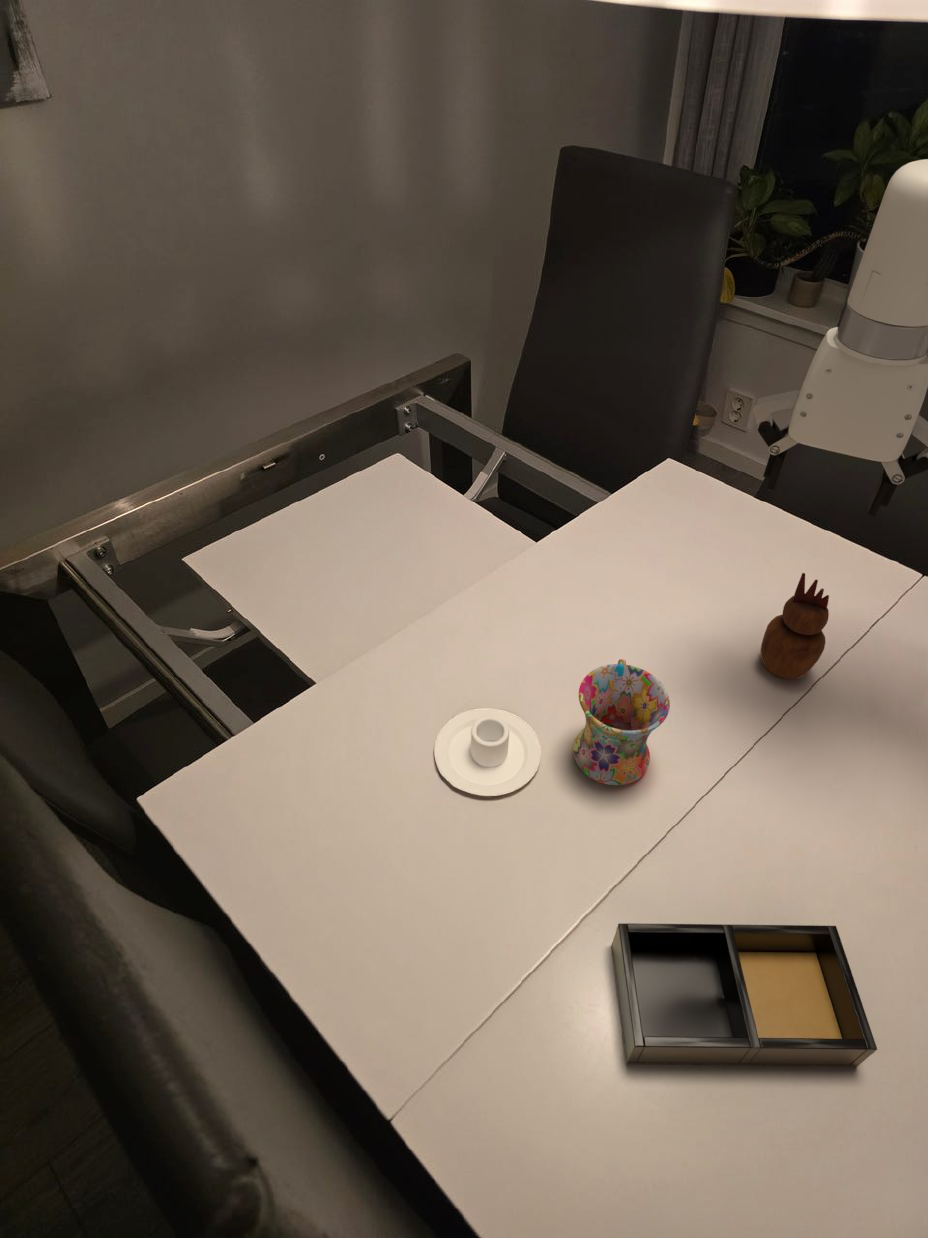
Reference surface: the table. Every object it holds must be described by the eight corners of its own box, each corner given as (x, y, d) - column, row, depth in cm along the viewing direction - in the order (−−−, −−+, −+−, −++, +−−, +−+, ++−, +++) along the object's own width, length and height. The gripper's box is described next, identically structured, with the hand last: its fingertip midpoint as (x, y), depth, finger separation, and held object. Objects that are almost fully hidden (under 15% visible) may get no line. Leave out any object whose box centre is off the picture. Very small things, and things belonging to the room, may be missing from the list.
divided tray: (819, 947, 73) (836, 925, 70) (857, 1067, 66) (877, 1049, 62) (611, 944, 73) (618, 923, 70) (626, 1064, 66) (634, 1046, 63)
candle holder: (434, 801, 84) (433, 778, 81) (433, 713, 92) (433, 689, 89) (546, 798, 84) (549, 775, 81) (535, 710, 93) (537, 687, 90)
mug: (652, 798, 84) (671, 738, 77) (566, 786, 85) (576, 726, 78) (651, 711, 93) (667, 650, 85) (572, 702, 94) (582, 640, 86)
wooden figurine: (745, 665, 98) (780, 575, 87) (769, 642, 101) (805, 552, 90) (795, 695, 95) (838, 605, 84) (818, 669, 97) (861, 580, 87)
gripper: (999, 332, 66) (916, 498, 78) (788, 295, 71) (741, 456, 83) (1000, 370, 61) (911, 541, 73) (773, 327, 66) (725, 493, 78)
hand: (821, 496), depth 78 cm, fingers open, 9 cm apart
